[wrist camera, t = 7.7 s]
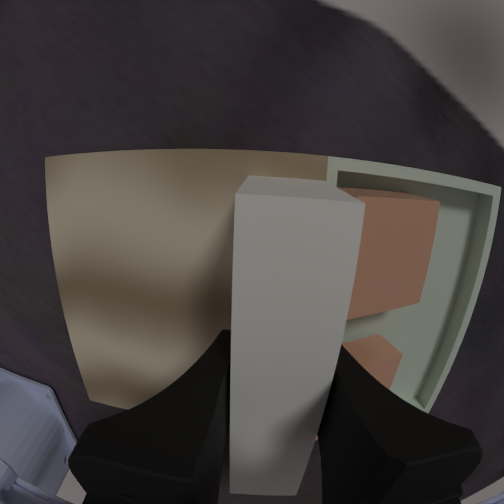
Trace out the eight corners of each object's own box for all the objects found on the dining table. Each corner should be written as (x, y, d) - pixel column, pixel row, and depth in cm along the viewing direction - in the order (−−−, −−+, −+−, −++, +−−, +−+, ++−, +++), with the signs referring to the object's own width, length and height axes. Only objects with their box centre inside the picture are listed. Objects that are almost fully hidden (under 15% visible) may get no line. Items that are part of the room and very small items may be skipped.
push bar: (291, 417, 15) (295, 495, 10) (238, 415, 15) (229, 492, 10) (324, 180, 11) (365, 203, 6) (248, 175, 11) (234, 193, 7)
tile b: (391, 285, 14) (419, 303, 12) (311, 297, 13) (337, 321, 11) (407, 192, 13) (440, 201, 11) (324, 186, 11) (357, 195, 9)
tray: (420, 397, 17) (427, 413, 15) (288, 404, 17) (289, 423, 16) (482, 182, 13) (501, 187, 11) (319, 155, 13) (326, 155, 11)
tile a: (359, 395, 16) (377, 416, 15) (291, 416, 15) (307, 442, 13) (378, 333, 15) (402, 354, 13) (303, 351, 14) (324, 378, 12)
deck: (288, 404, 17) (289, 428, 15) (102, 380, 18) (90, 400, 16) (319, 155, 13) (328, 156, 11) (68, 154, 13) (45, 157, 11)
